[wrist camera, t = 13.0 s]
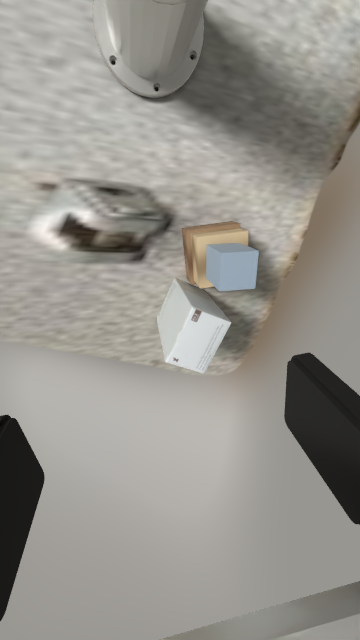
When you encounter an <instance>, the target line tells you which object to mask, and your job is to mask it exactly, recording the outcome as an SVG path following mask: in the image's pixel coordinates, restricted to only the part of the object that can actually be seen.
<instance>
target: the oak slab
mask: <svg viewBox="0 0 360 640" xmlns="http://www.w3.org/2000/svg"><path fill="white" fill-rule="evenodd" d="M224 243H241V244H244V245H246V246H248V231H247V230H244V229H240V228H231V229H222V230H214V231H206V232H197V233H191V247H192V260H193V274H194V281H195V283H196V284H197V285H198V287H199V288H207V287H214V285H213V284H212V283H211V282H210V281H209V280H208V279H207V278H206V251H207V244H224Z"/></svg>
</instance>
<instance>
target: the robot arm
mask: <svg viewBox="0 0 360 640" xmlns="http://www.w3.org/2000/svg"><path fill="white" fill-rule="evenodd" d="M207 2H208V0H93V22H94V30H95V35H96V40H97V43H98V46H99V49H100V52H101V55H102V57H103V59H104V61H105V63H106V65H107V67H108V68H109V69H110V71H111V72H112V74H113V75H114V77H115V78H116V79H117V80H118V81H119V82H120V83H121V84H122V85H123V86H125V87H126V88H128V89H129V90H130V91H132V92H134V93H136V94H138V95H141V96H145V97H150V98H154V97H163V96H167V95H170V94H171V93H173V92H175V91H177V90H178V89H179V88H180V87H182V86H183V85H184V84H185V83H186V81H187V80H188V79H189V78H190V76H191V75H192V73H193V71H194V69H195V67H196V65H197V63H198V60H199V58H200V54H201V50H202V45H203V36H204V21H203V11H204V9H205V7H206V4H207ZM190 56H192V57H193V58H194V60H191V58H190ZM112 61H115V63H116V64H115V65H112V64H111V62H112ZM155 87H157V88H158V91H155V89H154V88H155ZM284 416H285V422H286V424H287V426H288V428H289V429H290V431H291V432H292V434H293V435H294V437H295V438H296V440H297V441H298V443H299V444H300V445H301V447H302V449H303V450H304V452H305V453H306V454H307V456H308V457H309V459H310V460H311V462H312V463H313V465H314V466H315V468H316V469H317V471H318V472H319V474H320V475H321V476H322V478H323V480H324V481H325V482H326V484H327V486H328V487H329V489H330V490H331V491H332V493H333V494H334V496H335V497H336V499H337V500H338V502H339V503H340V505H341V506H342V507H343V509H344V511H345V512H346V514H347V515H348V516H349V518H350V519H351V520H352V521H353V522H354V523H355V524H360V396H359V395H358V394H357V393H356V392H355V391H354V390H352V389H351V388H350V387H349V386H348V385H347V384H346V383H344V382H343V381H342V380H341V379H340V378H339V377H338V376H336V375H335V374H334V373H333V372H332V371H331V370H330V369H328V368H327V367H326V366H325V365H324V364H323V363H322V362H320V361H319V360H318V359H317V358H316V357H315V356H314V355H313V354H311V353H305V354H300V355H295V356H293V357H292V359H291V361H289V362H288V365H287V381H286V399H285V415H284ZM43 484H44V472H43V470H42V468H41V466H40V464H39V462H38V460H37V458H36V456H35V454H34V452H33V450H32V449H31V446H30V445H29V443H28V441H27V439H26V437H25V435H24V433H23V431H22V429H21V427H20V425H19V424H18V422H17V420H16V419H15V418H11V417H10V416H9V415H3V416H0V621H1V620H2V618H3V616H4V614H5V611H6V608H7V604H8V601H9V598H10V594H11V591H12V588H13V584H14V581H15V578H16V574H17V571H18V567H19V564H20V561H21V558H22V554H23V551H24V548H25V544H26V541H27V538H28V534H29V531H30V528H31V524H32V520H33V518H34V514H35V511H36V508H37V504H38V501H39V498H40V494H41V491H42V488H43ZM161 640H360V581H359V582H355V583H352V584H348V585H345V586H341V587H338V588H335V589H331V590H328V591H324V592H321V593H317V594H314V595H310V596H307V597H303V598H300V599H297V600H293V601H290V602H286V603H283V604H279V605H276V606H272V607H269V608H265V609H262V610H259V611H255V612H252V613H248V614H245V615H242V616H238V617H235V618H232V619H228V620H225V621H221V622H218V623H215V624H211V625H208V626H204V627H201V628H198V629H195V630H191V631H188V632H185V633H181V634H177V635H174V636H171V637H167V638H164V639H161Z"/></svg>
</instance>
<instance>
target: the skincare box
mask: <svg viewBox="0 0 360 640" xmlns="http://www.w3.org/2000/svg"><path fill="white" fill-rule="evenodd" d="M157 323H158V328H159V333H160V338H161V343H162V348H163V353H164V358H165V362H166V363H169V364H173V365H176V366H179V367H183V368H187V369H190V370H194V371H197V372H200V373H203V374H204V373H205V371H206V370H207V368H208V366H209V364H210V362H211V360H212V358H213V357H214V355H215V353H216V351H217V349H218V347H219V345H220V343H221V342H222V340H223V338H224V336H225V334H226V332H227V330H228V328H229V327H230V325H231V321H230V320H229V319H228V318H227V316H226V315H225V314H224V313H223V312H222V310H221V309H220V308H219V307H218V306H217V305H216V303H215V302H214V301H213V300H212V299H211V297H210V296H209V295H208V294H207V293H206V292H205V290H203V289H200V288H198V287H196V286H193V285H191V284H188V283H186V282H183V281H181V280H179V279H176V278H175V279H174V280H173V282H172V285H171V287H170V289H169V291H168V294H167V296H166V298H165V300H164V303H163V305H162V307H161V310H160V313H159V315H158V317H157Z"/></svg>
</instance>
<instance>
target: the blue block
mask: <svg viewBox="0 0 360 640" xmlns="http://www.w3.org/2000/svg"><path fill="white" fill-rule="evenodd" d="M258 255H259V251H258V250H256V249H253V248H251V247H248V246H246V245H244V244H241V243H224V244H207V251H206V278H207V279H208V280H209V281H210V282H211V283H212V284H213V285H214V286H215V287H216V288H217V289H218V290H219V291H231V290H244V289H255V286H256V275H257V265H258Z"/></svg>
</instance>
